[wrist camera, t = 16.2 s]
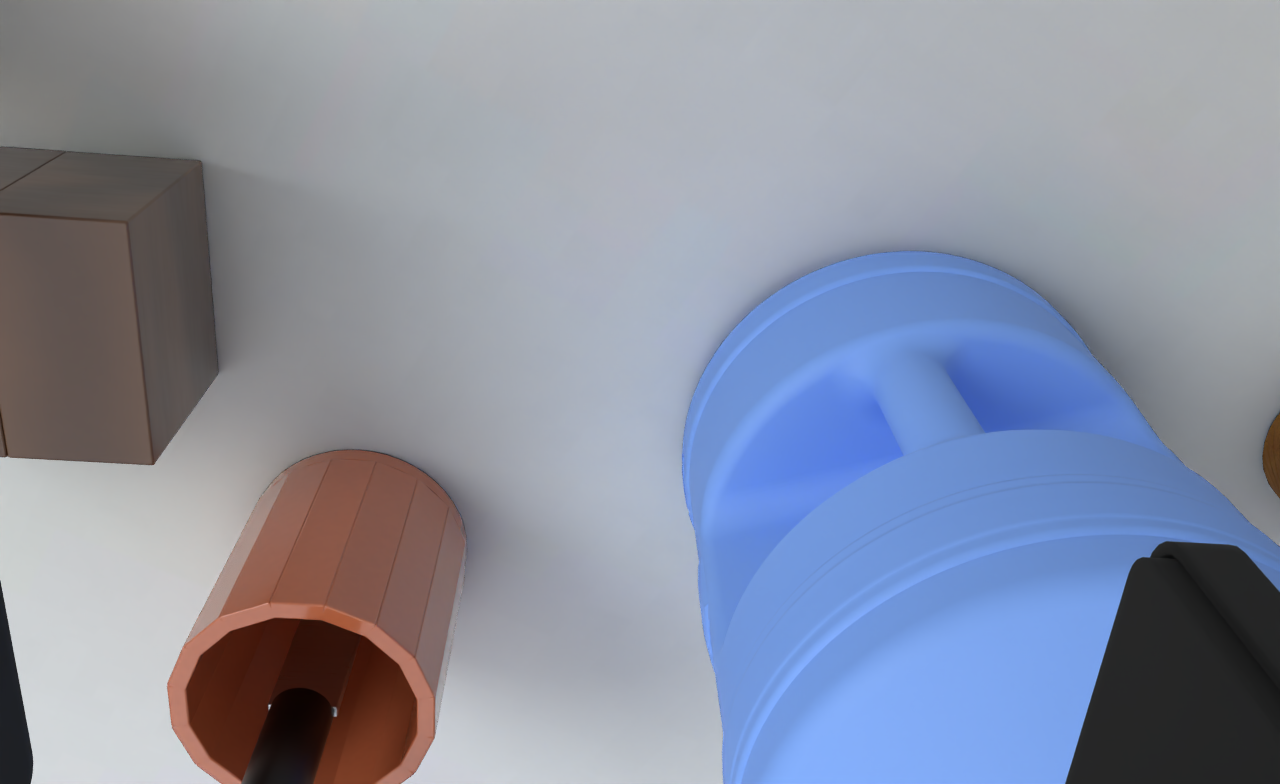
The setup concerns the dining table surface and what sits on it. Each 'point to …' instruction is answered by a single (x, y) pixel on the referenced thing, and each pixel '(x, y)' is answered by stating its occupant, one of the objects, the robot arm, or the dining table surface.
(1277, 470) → the disposable coffee cup
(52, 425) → the knife block
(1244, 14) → the dining table surface
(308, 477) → the cup
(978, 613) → the water jug
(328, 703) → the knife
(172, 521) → the dining table surface
